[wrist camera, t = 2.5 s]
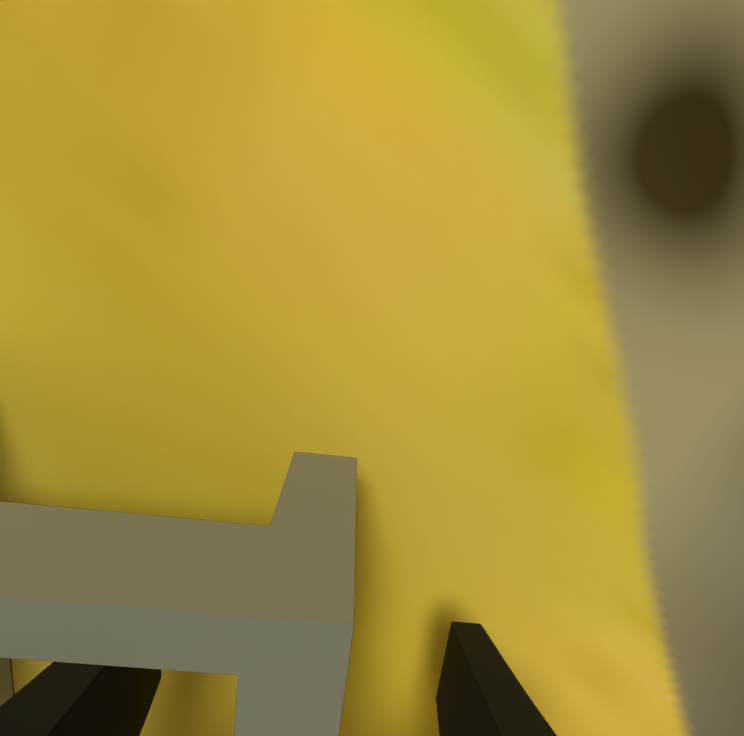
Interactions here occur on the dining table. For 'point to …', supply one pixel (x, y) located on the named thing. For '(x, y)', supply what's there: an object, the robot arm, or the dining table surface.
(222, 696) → the dining table surface
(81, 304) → the dining table surface
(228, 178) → the dining table surface
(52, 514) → the grey open rectangular frame
